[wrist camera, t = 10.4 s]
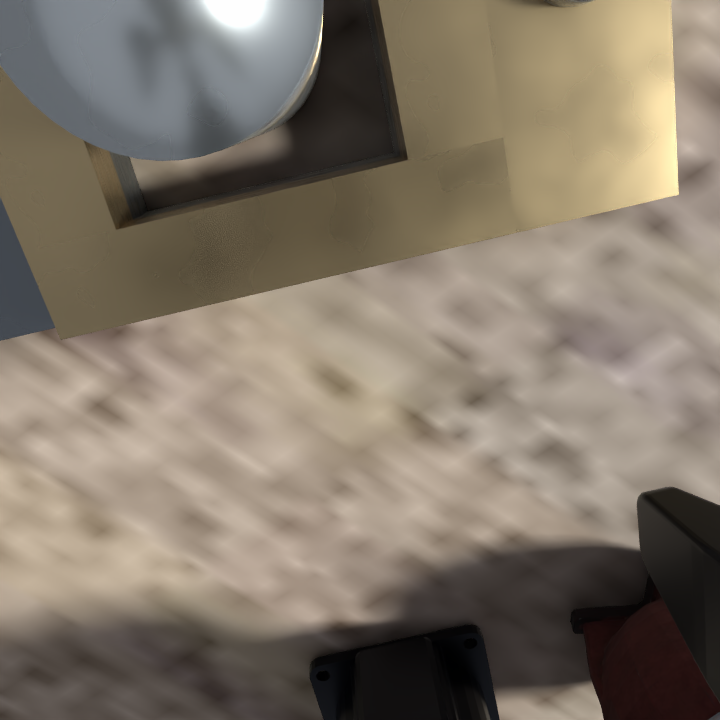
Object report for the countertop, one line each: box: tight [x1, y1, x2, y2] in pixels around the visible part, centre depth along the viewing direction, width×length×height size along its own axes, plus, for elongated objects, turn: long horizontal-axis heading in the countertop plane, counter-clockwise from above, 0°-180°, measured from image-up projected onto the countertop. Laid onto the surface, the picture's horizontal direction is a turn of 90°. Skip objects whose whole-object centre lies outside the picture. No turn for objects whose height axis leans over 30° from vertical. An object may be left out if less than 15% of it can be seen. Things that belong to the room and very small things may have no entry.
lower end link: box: [0, 0, 400, 341], centre depth 15 cm, size 12×16×2 cm
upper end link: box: [0, 0, 679, 340], centre depth 15 cm, size 12×16×4 cm
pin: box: [0, 0, 324, 161], centre depth 12 cm, size 4×4×9 cm
